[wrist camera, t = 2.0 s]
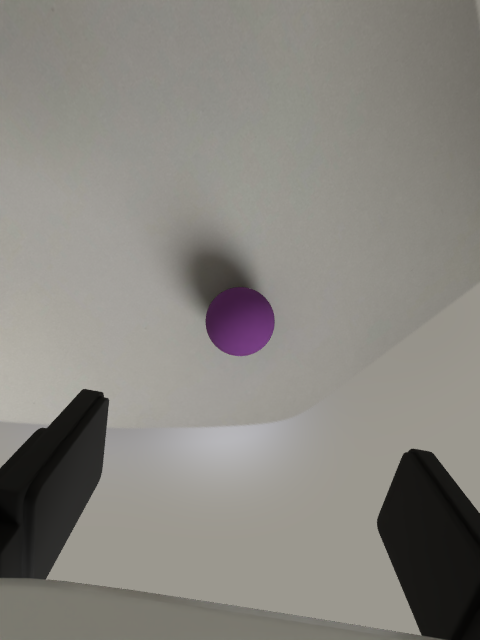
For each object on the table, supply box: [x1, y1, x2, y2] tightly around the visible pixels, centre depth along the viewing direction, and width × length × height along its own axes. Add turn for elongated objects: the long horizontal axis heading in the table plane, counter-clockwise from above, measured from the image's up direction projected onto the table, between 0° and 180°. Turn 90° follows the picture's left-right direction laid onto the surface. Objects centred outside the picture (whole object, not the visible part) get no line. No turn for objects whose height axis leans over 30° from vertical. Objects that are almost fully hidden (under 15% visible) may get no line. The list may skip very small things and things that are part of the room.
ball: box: [206, 287, 275, 356], centre depth 22 cm, size 4×4×4 cm
